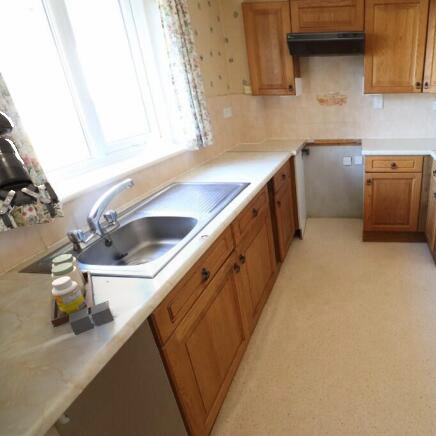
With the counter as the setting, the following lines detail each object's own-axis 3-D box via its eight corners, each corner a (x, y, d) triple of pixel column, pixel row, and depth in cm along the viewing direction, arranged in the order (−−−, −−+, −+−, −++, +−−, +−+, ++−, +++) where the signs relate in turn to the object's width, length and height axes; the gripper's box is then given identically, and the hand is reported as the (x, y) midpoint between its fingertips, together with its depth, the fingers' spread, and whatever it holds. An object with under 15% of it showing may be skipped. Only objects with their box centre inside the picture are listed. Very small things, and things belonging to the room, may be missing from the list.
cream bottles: (62, 304, 92) (48, 275, 88) (63, 284, 101) (50, 257, 97) (86, 296, 95) (74, 267, 91) (85, 277, 104) (73, 250, 100)
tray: (54, 328, 84) (50, 321, 83) (57, 288, 100) (53, 281, 99) (96, 313, 89) (93, 306, 88) (92, 277, 105) (89, 270, 104)
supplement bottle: (62, 309, 90) (48, 279, 86) (86, 301, 93) (73, 271, 89) (62, 320, 86) (47, 289, 81) (87, 311, 89) (74, 281, 84)
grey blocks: (75, 335, 82) (69, 322, 80) (75, 326, 85) (69, 314, 83) (114, 320, 86) (109, 308, 85) (112, 312, 89) (108, 300, 87)
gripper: (-32, 171, 81) (-7, 225, 79) (39, 159, 90) (63, 207, 88) (-22, 187, 87) (1, 237, 85) (44, 174, 96) (67, 219, 94)
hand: (33, 222), depth 86 cm, fingers open, 8 cm apart
